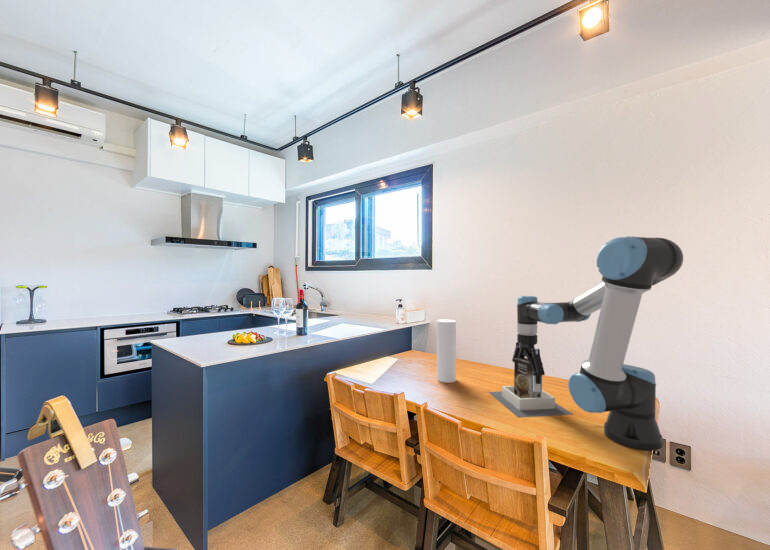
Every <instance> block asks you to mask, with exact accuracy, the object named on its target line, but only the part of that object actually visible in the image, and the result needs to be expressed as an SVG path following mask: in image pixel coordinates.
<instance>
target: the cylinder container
mask: <svg viewBox="0 0 770 550" xmlns="http://www.w3.org/2000/svg"><path fill="white" fill-rule="evenodd" d="M456 369H457V321H456V320H455V319H446V318H445V319H437V320H436V380H437V382H440V383H446V384H448V383H454V382H456V381H457V370H456Z"/></svg>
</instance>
